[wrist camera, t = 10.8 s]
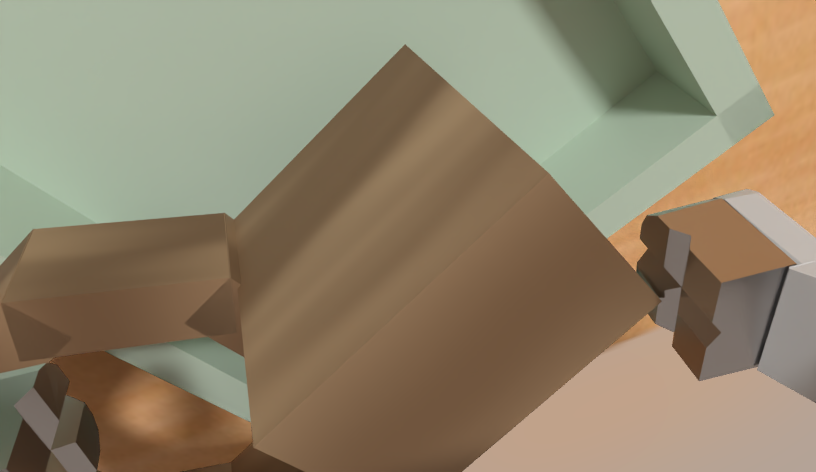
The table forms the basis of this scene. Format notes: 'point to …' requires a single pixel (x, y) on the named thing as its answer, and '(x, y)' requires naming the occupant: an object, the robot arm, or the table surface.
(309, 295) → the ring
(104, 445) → the table surface
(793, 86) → the table surface
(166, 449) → the table surface
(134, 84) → the tray
